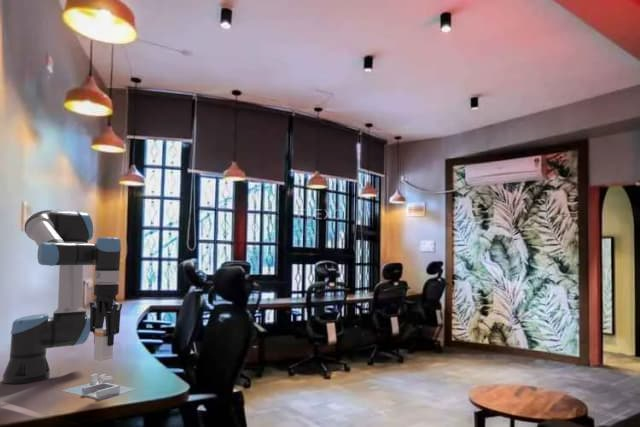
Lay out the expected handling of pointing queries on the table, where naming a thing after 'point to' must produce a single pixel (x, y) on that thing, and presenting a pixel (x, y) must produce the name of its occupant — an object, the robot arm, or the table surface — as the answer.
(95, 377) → the clip
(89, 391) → the end holder
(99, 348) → the white bottle
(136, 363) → the table surface
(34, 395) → the table surface
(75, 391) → the board
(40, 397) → the table surface
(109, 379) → the clip
